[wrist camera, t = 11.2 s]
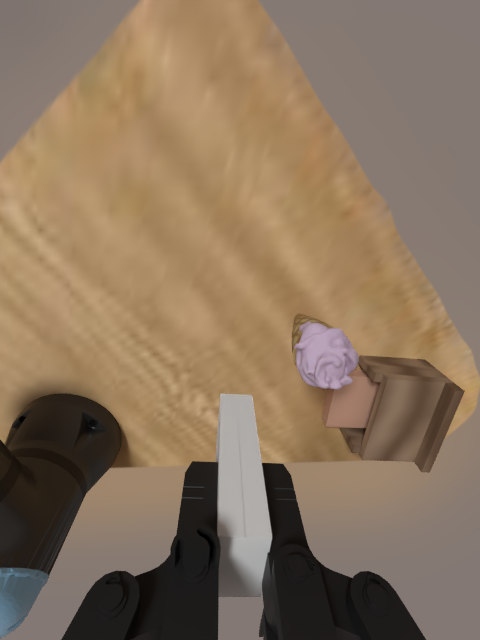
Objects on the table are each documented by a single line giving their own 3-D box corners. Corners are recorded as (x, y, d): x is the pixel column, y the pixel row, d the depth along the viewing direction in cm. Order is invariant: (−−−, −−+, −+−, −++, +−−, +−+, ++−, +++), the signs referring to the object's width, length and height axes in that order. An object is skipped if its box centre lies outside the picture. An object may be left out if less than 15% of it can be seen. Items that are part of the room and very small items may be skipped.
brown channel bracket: (340, 429, 49) (360, 470, 42) (359, 355, 44) (387, 386, 37) (399, 431, 50) (429, 472, 42) (424, 359, 45) (464, 391, 38)
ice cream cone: (265, 316, 41) (286, 376, 27) (298, 283, 40) (338, 329, 26) (298, 346, 43) (333, 416, 29) (331, 315, 42) (385, 374, 28)
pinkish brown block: (320, 415, 49) (325, 426, 46) (331, 366, 45) (337, 375, 43) (392, 418, 50) (401, 429, 47) (408, 370, 46) (418, 379, 44)
